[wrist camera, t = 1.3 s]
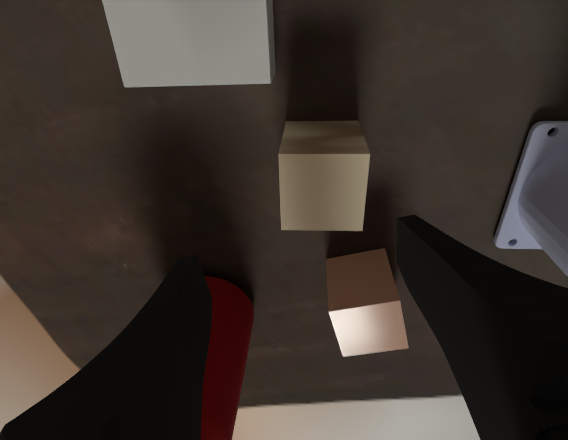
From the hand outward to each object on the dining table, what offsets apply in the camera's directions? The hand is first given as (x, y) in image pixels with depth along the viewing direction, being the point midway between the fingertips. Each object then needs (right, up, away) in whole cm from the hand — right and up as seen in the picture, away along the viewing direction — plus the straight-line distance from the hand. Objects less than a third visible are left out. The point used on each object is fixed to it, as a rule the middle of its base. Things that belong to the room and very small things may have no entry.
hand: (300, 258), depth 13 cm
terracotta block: (+5, -3, +13) cm, 14 cm away
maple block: (+2, +5, +8) cm, 10 cm away
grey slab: (-5, +12, +5) cm, 14 cm away
